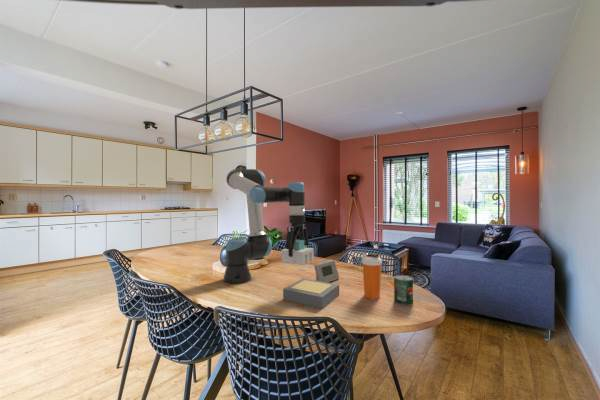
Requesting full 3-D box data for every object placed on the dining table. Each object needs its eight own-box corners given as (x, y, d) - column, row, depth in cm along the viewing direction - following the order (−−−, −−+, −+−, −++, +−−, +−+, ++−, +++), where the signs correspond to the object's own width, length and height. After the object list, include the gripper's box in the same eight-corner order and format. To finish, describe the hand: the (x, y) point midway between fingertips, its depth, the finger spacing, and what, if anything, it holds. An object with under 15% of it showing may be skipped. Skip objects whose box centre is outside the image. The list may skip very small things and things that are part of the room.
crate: (290, 249, 129) (289, 241, 129) (295, 247, 133) (295, 239, 133) (299, 250, 126) (298, 241, 126) (304, 248, 131) (304, 240, 130)
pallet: (281, 262, 129) (281, 249, 129) (293, 258, 137) (292, 246, 137) (303, 265, 122) (303, 252, 122) (313, 260, 131) (313, 248, 131)
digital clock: (319, 286, 142) (319, 266, 142) (310, 281, 149) (309, 262, 149) (343, 280, 150) (343, 261, 150) (333, 276, 158) (332, 258, 158)
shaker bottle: (378, 301, 121) (378, 256, 120) (359, 297, 126) (359, 254, 125) (384, 295, 128) (384, 253, 128) (365, 291, 133) (365, 251, 133)
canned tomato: (392, 298, 124) (392, 274, 124) (410, 298, 123) (409, 274, 123) (396, 305, 116) (396, 280, 116) (415, 306, 115) (415, 280, 115)
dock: (283, 299, 124) (283, 288, 124) (303, 287, 139) (302, 277, 139) (322, 308, 114) (322, 296, 114) (339, 295, 129) (339, 284, 129)
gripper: (290, 216, 118) (291, 267, 118) (315, 213, 137) (316, 257, 137) (276, 216, 122) (277, 265, 122) (302, 213, 141) (303, 255, 141)
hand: (298, 260), depth 130 cm, fingers closed on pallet, 10 cm apart
